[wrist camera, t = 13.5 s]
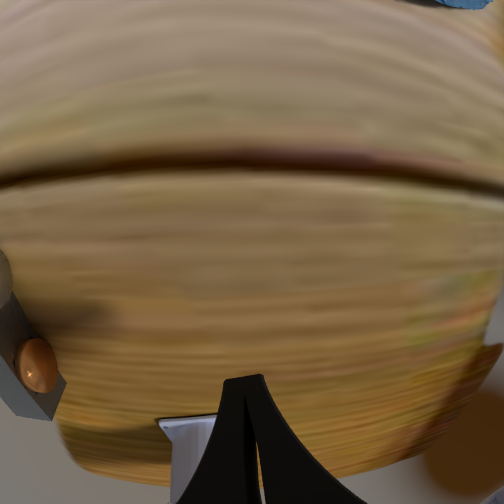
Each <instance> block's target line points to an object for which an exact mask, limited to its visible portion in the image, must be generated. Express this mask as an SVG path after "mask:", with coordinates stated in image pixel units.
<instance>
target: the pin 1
mask: <svg viewBox="0 0 504 504" xmlns="http://www.w3.org/2000/svg"><path fill="white" fill-rule="evenodd" d="M12 285H13V281H12V273H11V268H10V265H9V263H8V260H7V258H6V257H5V255H4V254H3V252H2V251H1V250H0V308H2V307H4V306H5V305H6V304H7V302H8V301H9V299H10V296H11V293H12Z"/></svg>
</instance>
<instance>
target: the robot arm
mask: <svg viewBox="0 0 504 504" xmlns="http://www.w3.org/2000/svg"><path fill="white" fill-rule="evenodd" d="M159 425H160V427H161V428H162V430H163V431H164V432H165V434H166V435H167V437H168V438H169V439H170V441H171V442H172V460H171V484H170V503H168V504H262V501H261V495H260V488H259V479H258V463H257V447H256V442H257V446H258V451H259V458H260V465H261V472H262V480H263V487H264V494H265V502H266V504H367V503H366V502H364V501H363V500H361V499H360V498H359V497H357V496H356V495H355V494H353V493H352V492H351V491H350V490H348V489H347V488H346V487H345V486H343V485H342V484H341V483H340V482H339V481H338V480H337V479H336V478H334V477H333V476H332V475H331V474H330V473H329V472H328V471H327V470H326V469H325V468H324V467H323V466H322V465H321V464H320V463H319V462H318V461H317V460H316V459H315V458H314V457H313V456H312V455H311V453H310V452H309V451H308V450H307V449H306V448H305V446H304V445H303V444H302V443H301V442H300V440H299V439H298V438H297V436H296V435H295V434H294V432H293V431H292V430H291V428H290V427H289V425H288V424H287V422H286V421H285V419H284V418H283V416H282V414H281V413H280V411H279V410H278V408H277V406H276V404H275V403H274V401H273V399H272V397H271V395H270V393H269V390H268V388H267V386H266V383H265V380H264V376H263V375H262V374H255V375H250V376H244V377H238V378H231V379H226V380H225V381H224V383H223V391H222V396H221V401H220V405H219V409H218V413H217V415H210V416H200V417H189V418H176V419H161V420H159ZM480 504H504V486H503V487H501V488H500V489H499V490H497V491H496V492H495V493H493V494H492V495H491V496H489V497H488V498H487V499H485V500H484V501H483V502H481V503H480Z"/></svg>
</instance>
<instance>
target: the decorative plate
mask: <svg viewBox="0 0 504 504" xmlns="http://www.w3.org/2000/svg"><path fill="white" fill-rule="evenodd" d="M436 1H438V2H440V3H442V4H445V5H448V6H454V7H455V8H456V7H459V8H461V7H464V8H466V9H468V10H469V9H473V10H476V9H483V8H484V7H485V6H486V4H488V3H489V2H493V0H436Z"/></svg>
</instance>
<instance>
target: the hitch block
mask: <svg viewBox="0 0 504 504" xmlns="http://www.w3.org/2000/svg"><path fill="white" fill-rule="evenodd" d="M36 338H37V337H36V335H35V333H34V331H33V330H32V328H31V326H30V324H29V322H28V321H27V319H26V317H25V315H24V313H23V311H22V309H21V307H20V305H19V303H18V301H17V299H16V297H15V295H14V293H13V291H12V293H11V296H10V299H9V301H8V302H7V304H6V305H5V306H4V307H2V308H0V397H1V398H2V399H3V401H4V402H5V403H6V404H7V405H8V407H9V408H10V409H11V410H12V411H13V412H14V413H15V415H16V416H22V417H27V418H34V419H41V420H48V421H52V419H53V417H54V414H55V411H56V409H57V406H58V404H59V401H60V399H61V396H62V394H63V391H64V389H65V386H66V384H67V383H66V381H65V380H64V379H63V377H62V376H61V374H60V373H59V371H58V378H57V382H56V385H55V387H54V388H53V389H52V390H51V391H50V392H48V393H39V392H32V391H29V390H28V389H26V388H25V387H24V386H23V384H22V383H21V381H20V380H19V378H18V375H17V372H16V368H15V366H14V364H13V361H14V360H15V353H16V350H17V347H18V345H19V344H20V343H21V342H22V341H23V340H25V339H36Z"/></svg>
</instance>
